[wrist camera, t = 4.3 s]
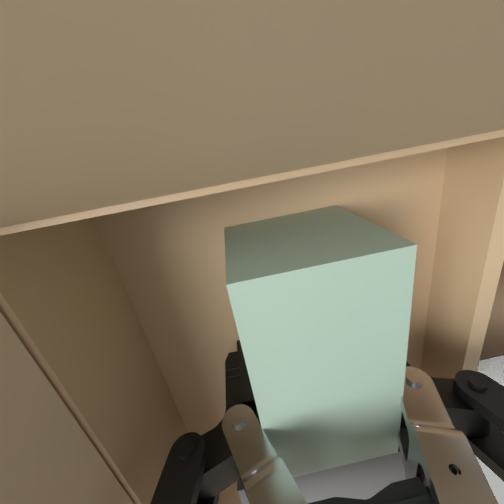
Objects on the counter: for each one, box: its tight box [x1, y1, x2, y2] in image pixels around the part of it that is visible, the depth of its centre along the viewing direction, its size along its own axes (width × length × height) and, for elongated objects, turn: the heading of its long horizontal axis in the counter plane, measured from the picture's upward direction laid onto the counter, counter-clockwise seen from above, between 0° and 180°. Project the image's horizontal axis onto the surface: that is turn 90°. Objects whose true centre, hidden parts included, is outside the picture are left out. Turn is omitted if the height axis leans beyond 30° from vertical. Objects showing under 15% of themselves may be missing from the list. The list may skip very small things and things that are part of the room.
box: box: [224, 205, 417, 504], centre depth 11 cm, size 12×8×5 cm, turn 10°
